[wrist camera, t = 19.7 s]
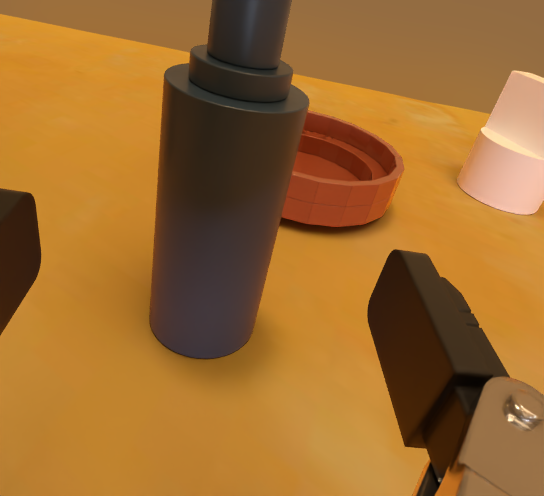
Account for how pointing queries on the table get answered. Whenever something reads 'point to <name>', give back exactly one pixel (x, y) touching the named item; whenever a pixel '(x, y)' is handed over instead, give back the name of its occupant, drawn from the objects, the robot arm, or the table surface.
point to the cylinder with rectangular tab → (510, 150)
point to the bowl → (341, 174)
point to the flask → (223, 178)
